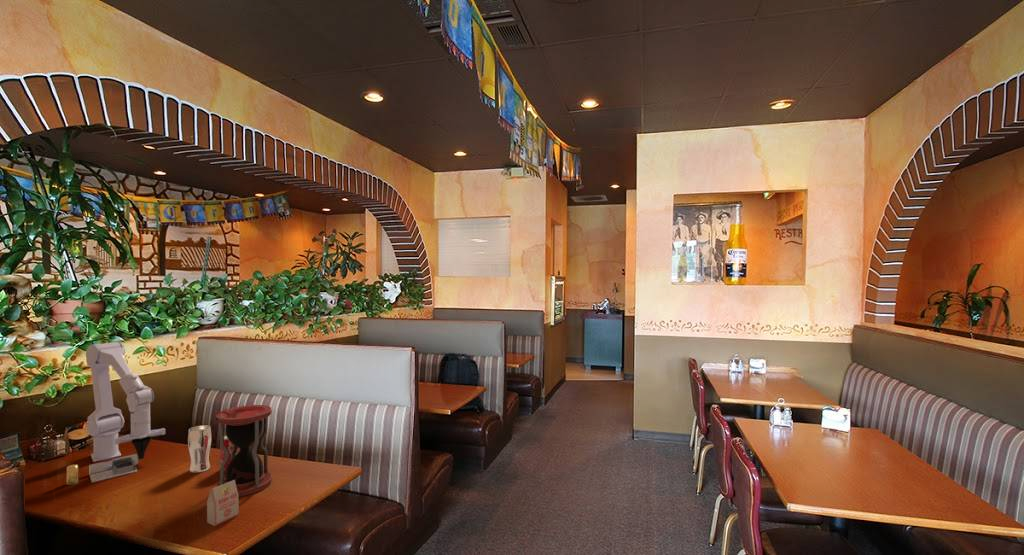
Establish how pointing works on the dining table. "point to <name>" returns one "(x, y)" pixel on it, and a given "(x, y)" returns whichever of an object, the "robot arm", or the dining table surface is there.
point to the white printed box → (222, 503)
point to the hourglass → (245, 447)
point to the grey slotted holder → (121, 461)
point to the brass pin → (72, 474)
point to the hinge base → (99, 472)
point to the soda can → (230, 447)
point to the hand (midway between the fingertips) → (141, 458)
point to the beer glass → (199, 448)
